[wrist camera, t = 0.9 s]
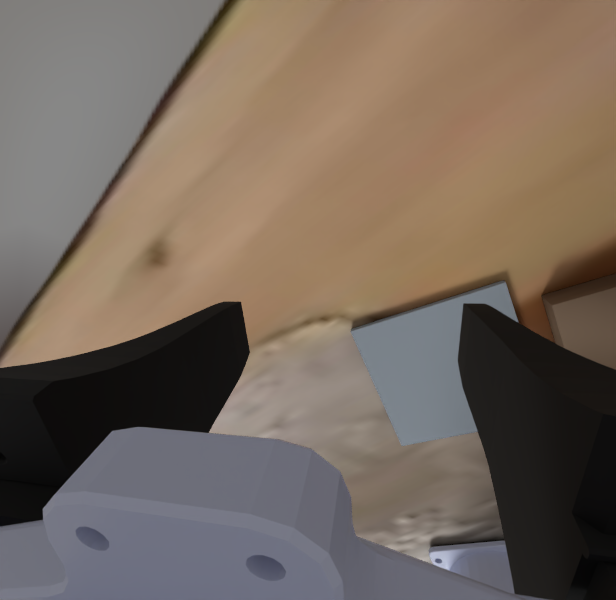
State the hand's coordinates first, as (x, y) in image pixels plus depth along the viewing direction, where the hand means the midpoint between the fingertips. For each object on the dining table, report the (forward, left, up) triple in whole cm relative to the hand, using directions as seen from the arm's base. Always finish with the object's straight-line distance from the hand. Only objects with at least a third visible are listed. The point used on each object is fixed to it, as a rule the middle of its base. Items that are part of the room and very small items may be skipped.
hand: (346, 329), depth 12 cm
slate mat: (-8, -2, -10) cm, 13 cm away
